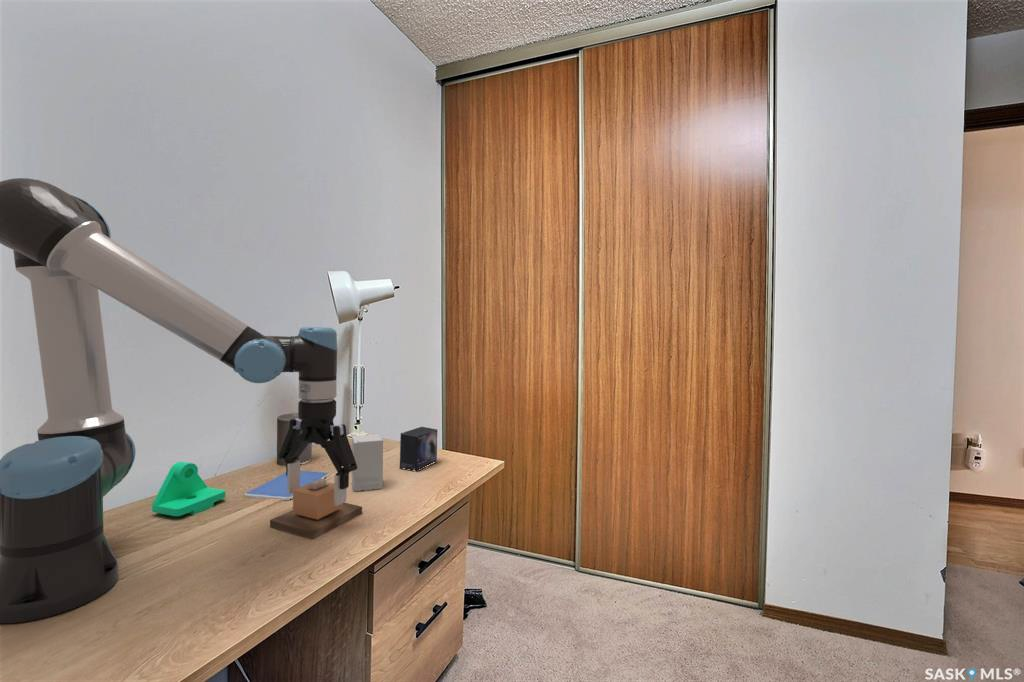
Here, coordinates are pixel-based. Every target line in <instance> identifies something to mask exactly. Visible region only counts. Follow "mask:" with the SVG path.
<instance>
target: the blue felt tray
mask: <svg viewBox="0 0 1024 682" xmlns="http://www.w3.org/2000/svg"><path fill="white" fill-rule="evenodd" d="M328 474H330V475H331V473H330V472H322V471H311V470H300V487H302V486H305V485H307V484H309V483H310V482H313V481H315V480H318V479H322V478H324V477H325V476H327V475H328ZM243 497H244V498H247V497H248V498H249V499H258V498H266V499H265V500H270V499H281V500H280V501H284V500H287V501H290V499H291V500H293V493H291V494H288V493H287V476H286V471H285V472H284V473H282V474H280V475H278V476H276V477H274V478H272V479H270V480H269V481H266V482H265V483H262V484H261V485H258V486H257V487H254V488H253V489H251V490H249V491H247V492H245V493H244V494H243Z"/></svg>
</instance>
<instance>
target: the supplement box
mask: <svg viewBox="0 0 1024 682" xmlns="http://www.w3.org/2000/svg"><path fill="white" fill-rule="evenodd" d="M351 450H352V453H353V455H354V458H355V461H356V464H357V469H356V470H354V471H351V487H352V490H353V492H362V491H361V490H365V491H373V490H372V489H374V490H381V488H382V489H383V487H384V485H383V483H384V479H383V478H384V474H383V473H384V471H383V470H384V440H383V438H382V435H381V434H378V433H377V434H376V433H375V434H365V435H363V434H362V435H353V436H351Z"/></svg>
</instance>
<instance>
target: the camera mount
mask: <svg viewBox="0 0 1024 682" xmlns="http://www.w3.org/2000/svg"><path fill="white" fill-rule="evenodd" d="M223 499H226V490H225V489H222V488H221V489H220V488H215V487H209V486H207V484H206V483H205V481H204V480H203V479H202V477H201V476H200V475H199V467H198V466H197V464H195V463H193V462H185V461H177V462H175V463H174V464H172V465H171V467H170V469H169V471H168V472H167V475H165V479H164V481H163V482H162V484H161V486H160V488H159V490H158V493H157V494H156V496H155V498H154V500H153V502H152V504H151V512H152V513H157V514H160V515H161V514H162V515H167V516H172V517H182V516H184V515H186V514H188V515H189V514H190V515H196V514H199V513H201V512H203V511H206V510H208V509H211V508H213V507H214V504H215V503H216V502H219V501H221V500H223Z"/></svg>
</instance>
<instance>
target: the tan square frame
mask: <svg viewBox="0 0 1024 682" xmlns="http://www.w3.org/2000/svg"><path fill="white" fill-rule="evenodd" d="M341 508H343V503H342V504H340V505H338V506H336V505H334V482H330V481H326V487H325V488H322V489H320V490H318V491H311V490H309V484H307V485H305V486H302V487H300V488H297V489H295V490H293V499H292V510H293V513H294V514H298V515H302V516H306V517H309V518H313V519H317V520H318V519H320V518H322V517H324V516H326V515H328V514H330V513H332V512H334V511H336V510H339V509H341Z"/></svg>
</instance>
